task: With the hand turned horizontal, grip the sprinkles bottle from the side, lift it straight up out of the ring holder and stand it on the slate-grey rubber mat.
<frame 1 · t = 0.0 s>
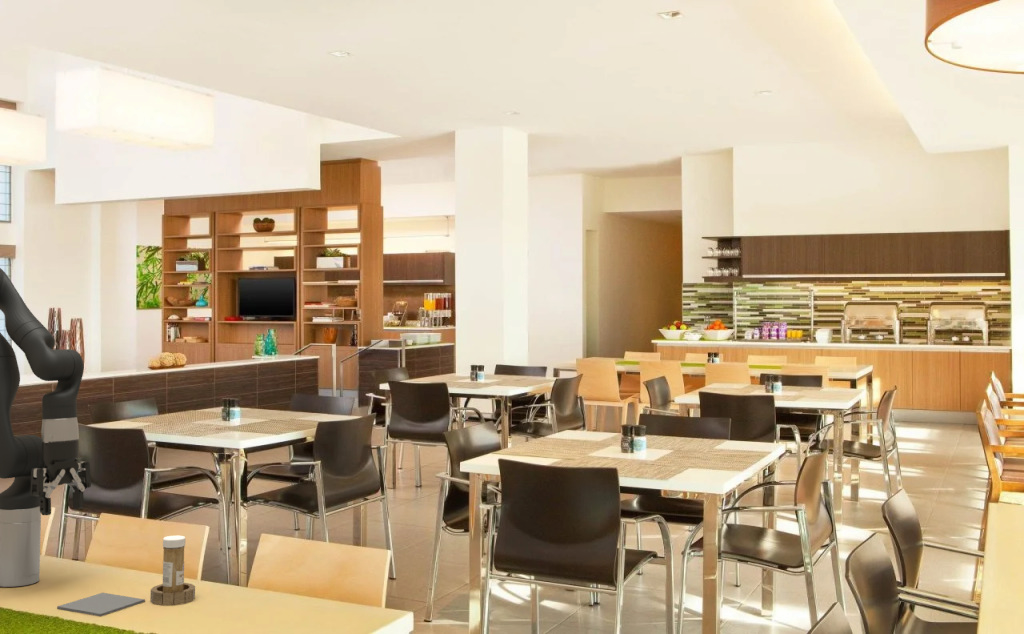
hand: (62, 511, 215), 17 cm above the table, tool pointing down, fingers open, 8 cm apart
ring holder: (172, 599, 209), on the table
sprinkles bottle: (172, 600, 209), resting in ring holder
rubber mat: (101, 605, 203), on the table
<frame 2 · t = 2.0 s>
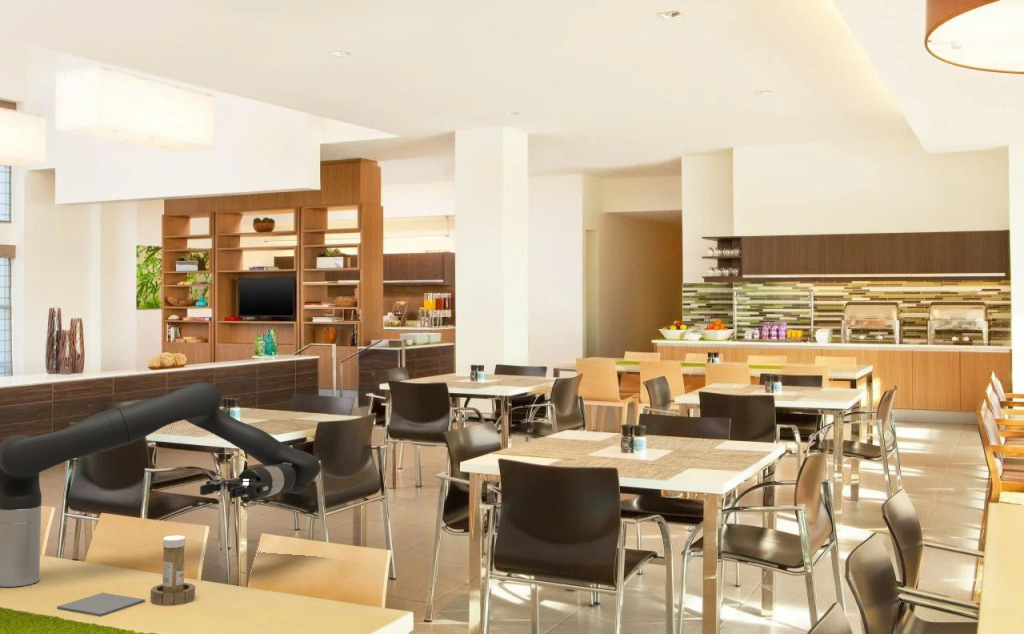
hand: (216, 492, 221), 21 cm above the table, tool horizontal, fingers open, 8 cm apart
nothing on the table moved.
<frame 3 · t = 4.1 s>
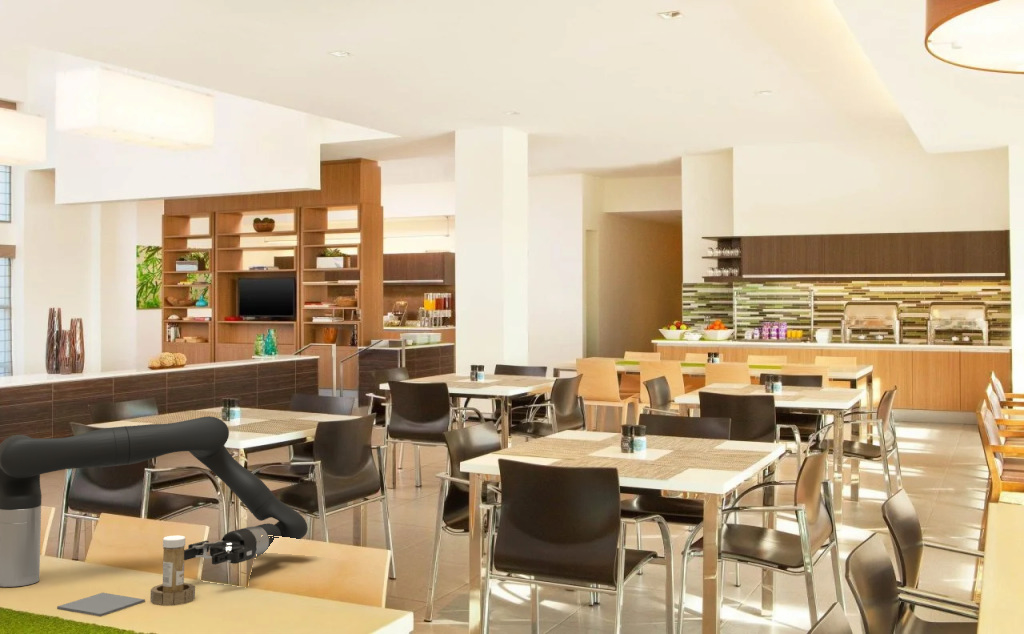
hand: (198, 557, 216), 7 cm above the table, tool horizontal, fingers open, 8 cm apart
nothing on the table moved.
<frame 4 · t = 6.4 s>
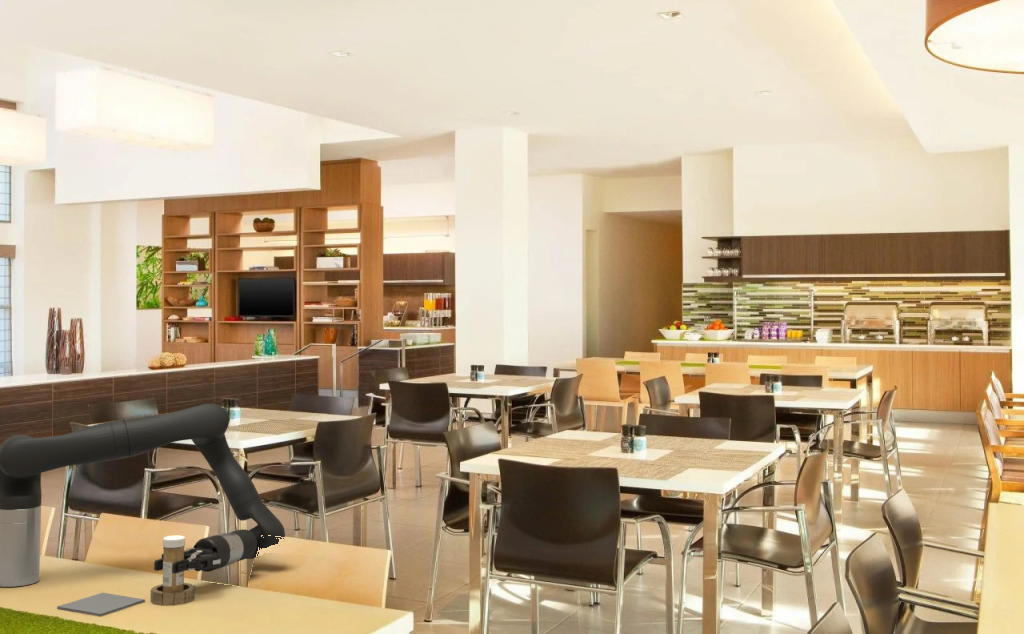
hand: (164, 567, 206), 8 cm above the table, tool horizontal, fingers closed on sprinkles bottle, 4 cm apart
sprinkles bottle: (172, 600, 209), resting in ring holder, touching gripper
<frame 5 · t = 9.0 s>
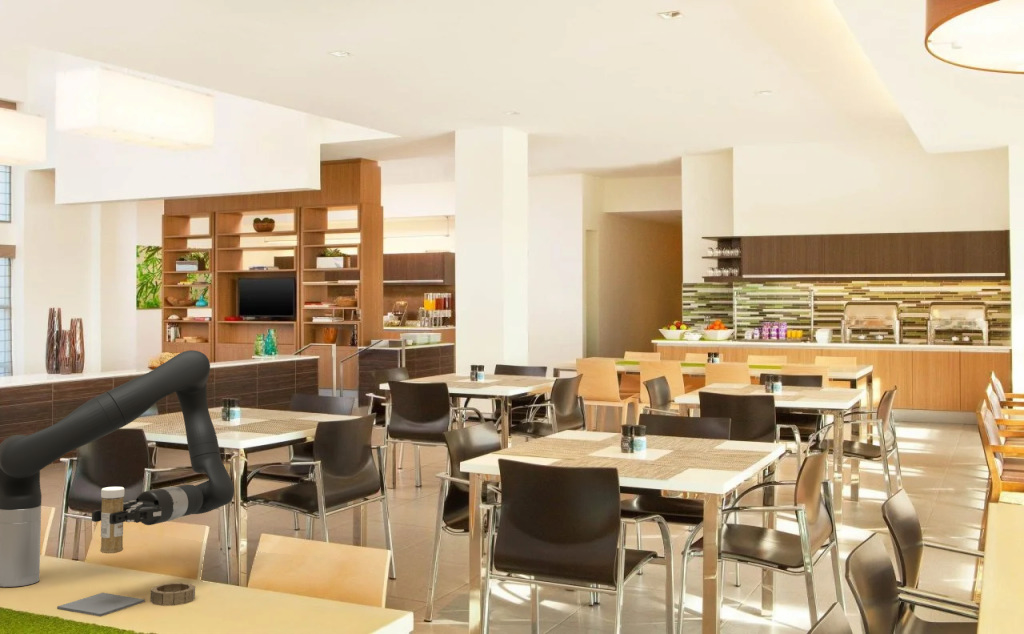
hand: (102, 517, 202), 19 cm above the table, tool horizontal, fingers closed on sprinkles bottle, 4 cm apart
sprinkles bottle: (111, 552, 204), point 11 cm above the table, touching gripper
when the fingers open (9 cm above the table, at t = 11.4 s): sprinkles bottle stays where it is, resting on rubber mat.
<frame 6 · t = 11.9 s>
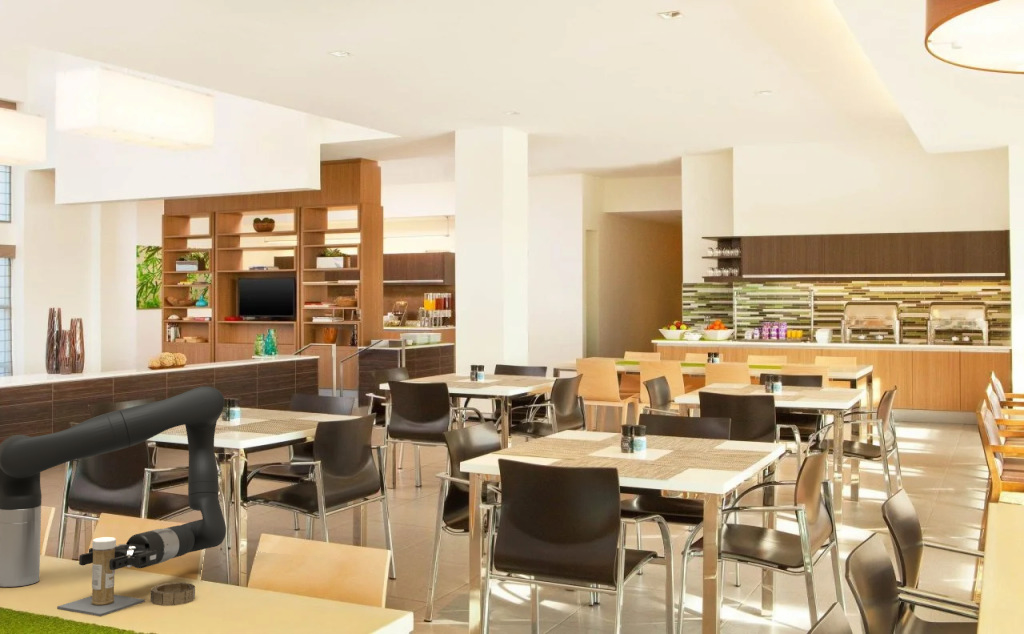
hand: (95, 562, 202), 9 cm above the table, tool horizontal, fingers open, 8 cm apart
sprinkles bottle: (102, 603, 203), resting on rubber mat
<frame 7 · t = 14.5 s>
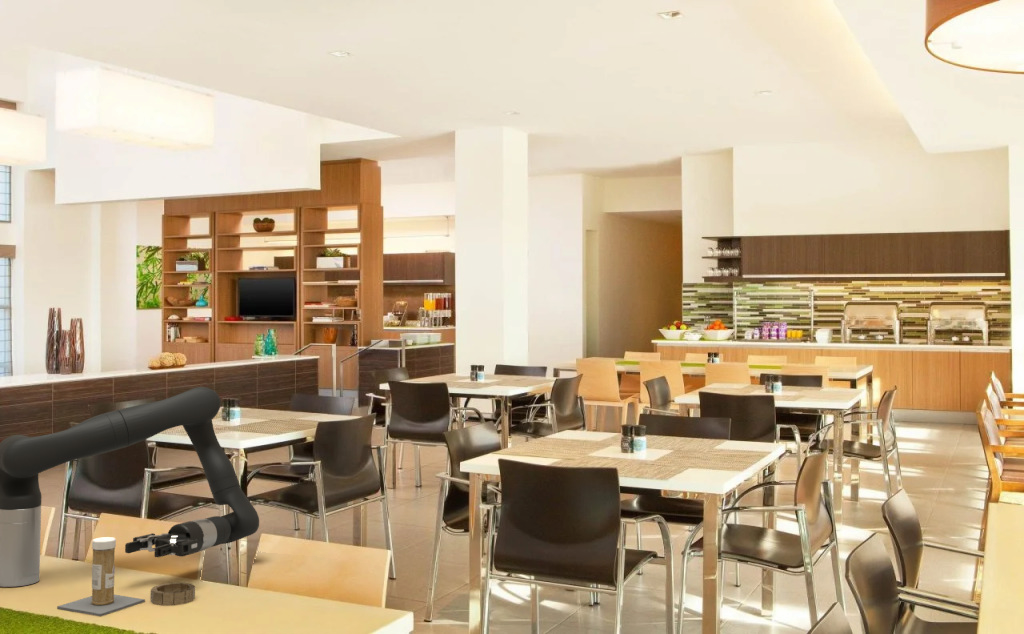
hand: (141, 550, 213), 9 cm above the table, tool horizontal, fingers open, 8 cm apart
nothing on the table moved.
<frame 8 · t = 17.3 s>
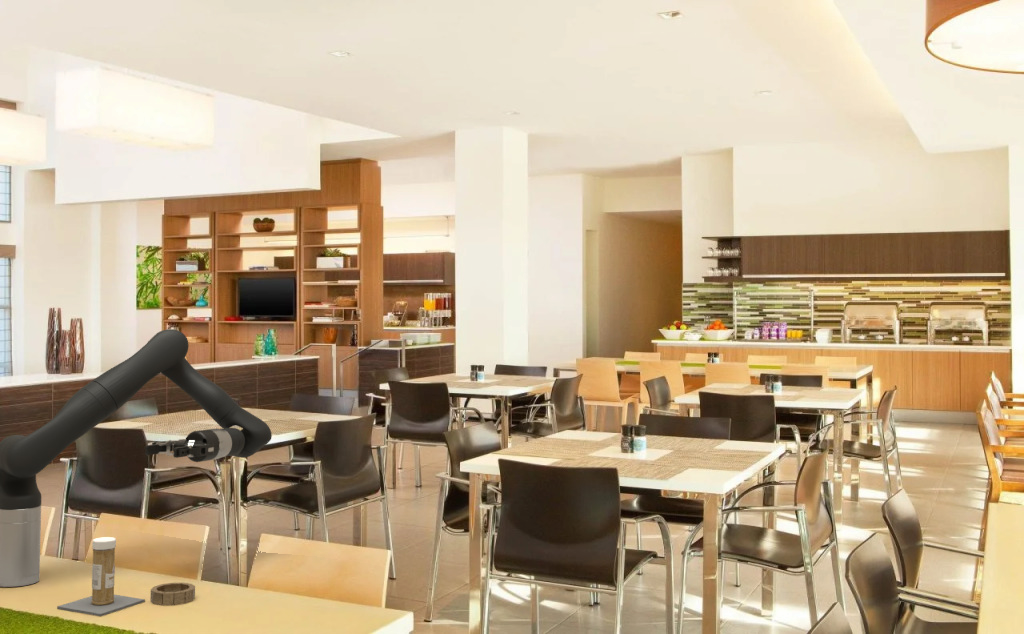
hand: (160, 451, 223), 30 cm above the table, tool horizontal, fingers open, 8 cm apart
nothing on the table moved.
at the end: sprinkles bottle inside the target area on the rubber mat (0.2 cm from its centre), point 0.3 cm above the rubber mat's base; sprinkles bottle tilted 0°; the gripper is holding nothing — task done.
